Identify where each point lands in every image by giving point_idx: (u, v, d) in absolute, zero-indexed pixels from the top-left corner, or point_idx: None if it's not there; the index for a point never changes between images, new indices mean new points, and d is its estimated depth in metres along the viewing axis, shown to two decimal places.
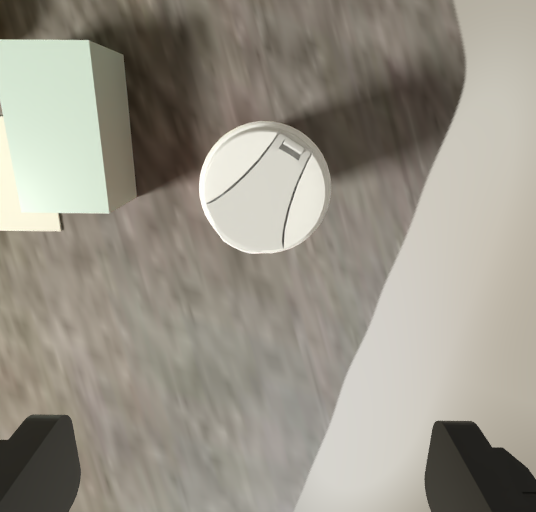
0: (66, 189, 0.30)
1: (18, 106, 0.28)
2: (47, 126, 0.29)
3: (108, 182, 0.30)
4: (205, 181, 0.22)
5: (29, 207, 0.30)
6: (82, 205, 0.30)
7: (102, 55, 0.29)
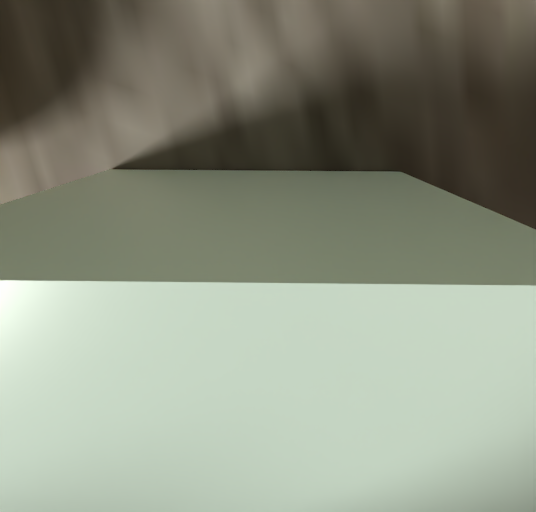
0: None
1: None
2: None
3: None
4: None
5: None
6: None
7: None
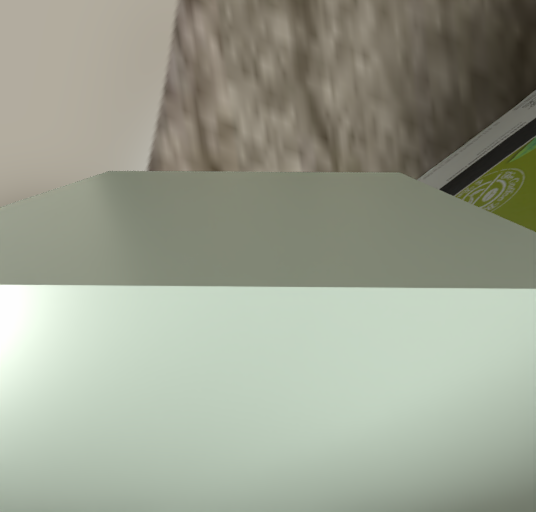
0: None
1: None
2: None
3: None
4: None
5: None
6: None
7: None
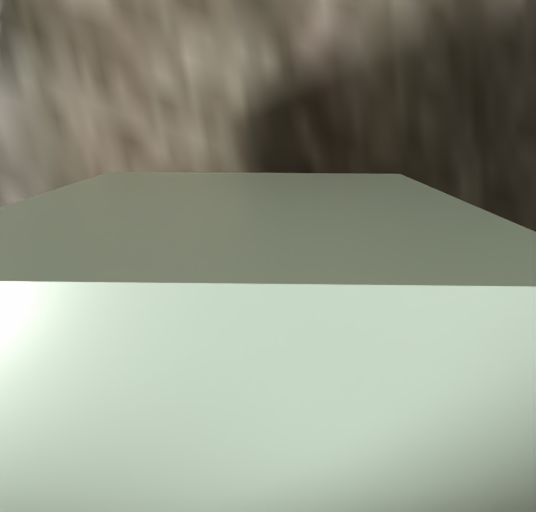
0: None
1: None
2: None
3: None
4: None
5: None
6: None
7: None
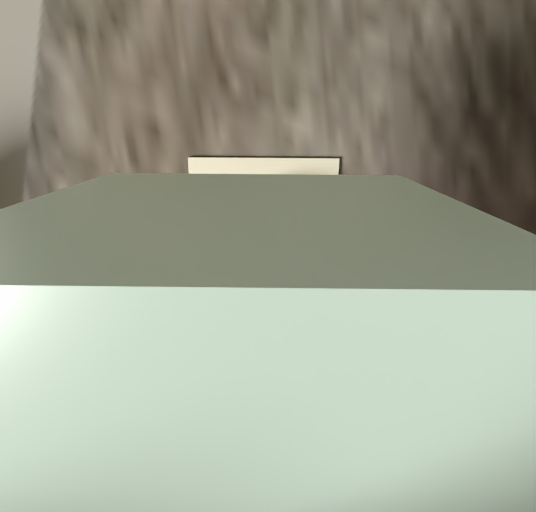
0: None
1: None
2: None
3: None
4: None
5: None
6: None
7: None
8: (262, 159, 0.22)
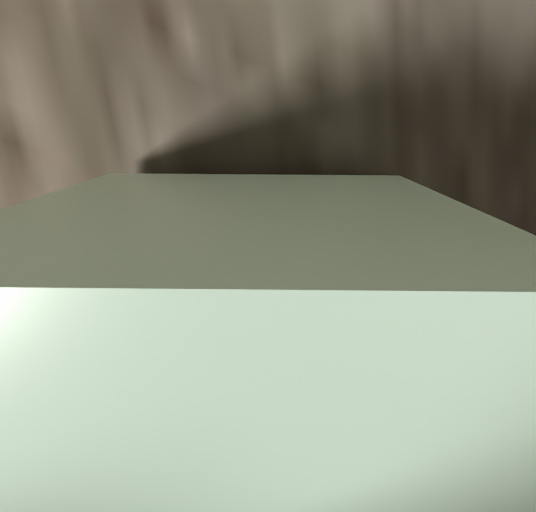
0: None
1: None
2: None
3: None
4: None
5: None
6: None
7: None
8: None
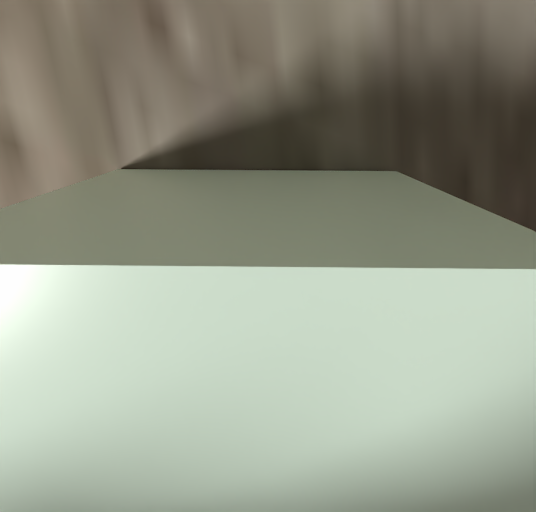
0: None
1: None
2: None
3: None
4: None
5: None
6: None
7: None
8: None
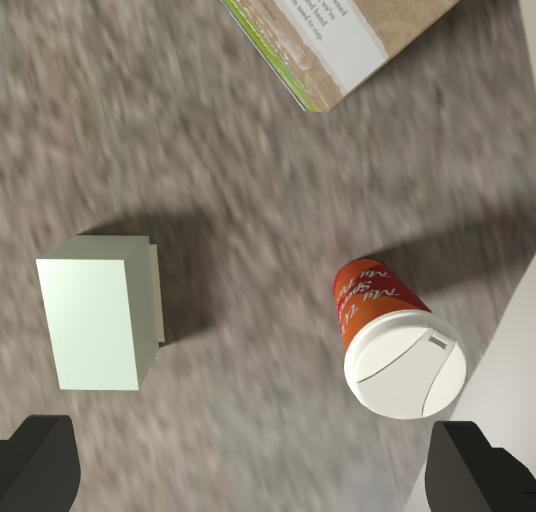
0: (101, 371, 0.34)
1: (60, 309, 0.32)
2: (85, 324, 0.32)
3: (137, 363, 0.34)
4: (358, 365, 0.25)
5: (67, 385, 0.34)
6: (114, 383, 0.34)
7: (133, 258, 0.33)
8: None
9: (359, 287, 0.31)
